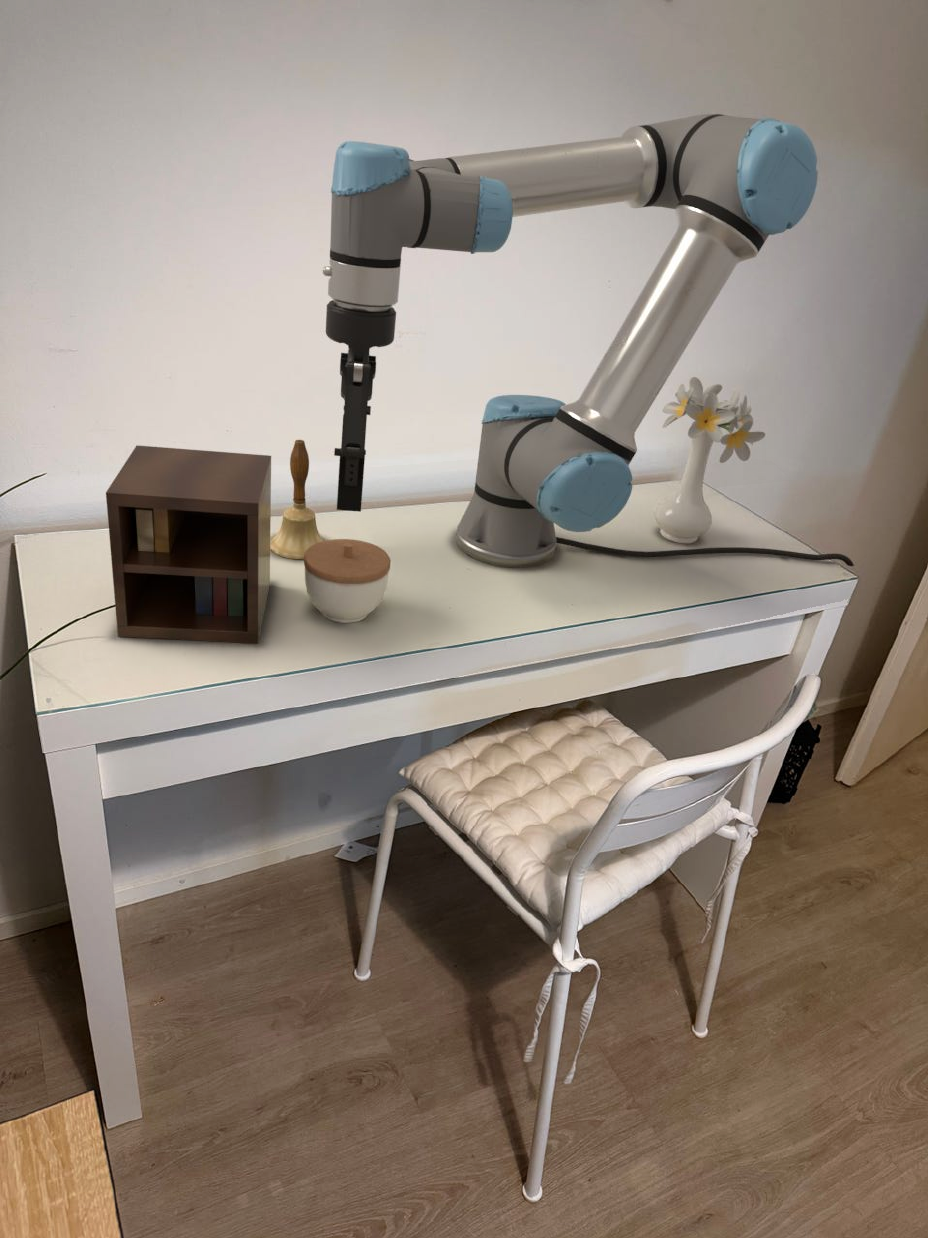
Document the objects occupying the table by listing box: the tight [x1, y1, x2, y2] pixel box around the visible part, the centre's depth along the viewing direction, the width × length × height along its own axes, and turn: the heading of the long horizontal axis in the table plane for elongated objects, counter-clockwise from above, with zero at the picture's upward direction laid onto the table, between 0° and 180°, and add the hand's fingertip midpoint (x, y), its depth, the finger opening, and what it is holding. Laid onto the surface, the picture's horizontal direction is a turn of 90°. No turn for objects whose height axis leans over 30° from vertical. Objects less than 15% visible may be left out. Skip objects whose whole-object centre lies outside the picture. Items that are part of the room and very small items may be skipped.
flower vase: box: [654, 376, 766, 544], centre depth 146 cm, size 13×18×25 cm
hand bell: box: [270, 439, 326, 560], centre depth 128 cm, size 8×8×16 cm
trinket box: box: [303, 538, 391, 624], centre depth 115 cm, size 11×11×9 cm
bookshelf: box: [105, 444, 272, 644], centre depth 109 cm, size 16×15×18 cm
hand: (349, 487), depth 109 cm, fingers open, 13 cm apart
